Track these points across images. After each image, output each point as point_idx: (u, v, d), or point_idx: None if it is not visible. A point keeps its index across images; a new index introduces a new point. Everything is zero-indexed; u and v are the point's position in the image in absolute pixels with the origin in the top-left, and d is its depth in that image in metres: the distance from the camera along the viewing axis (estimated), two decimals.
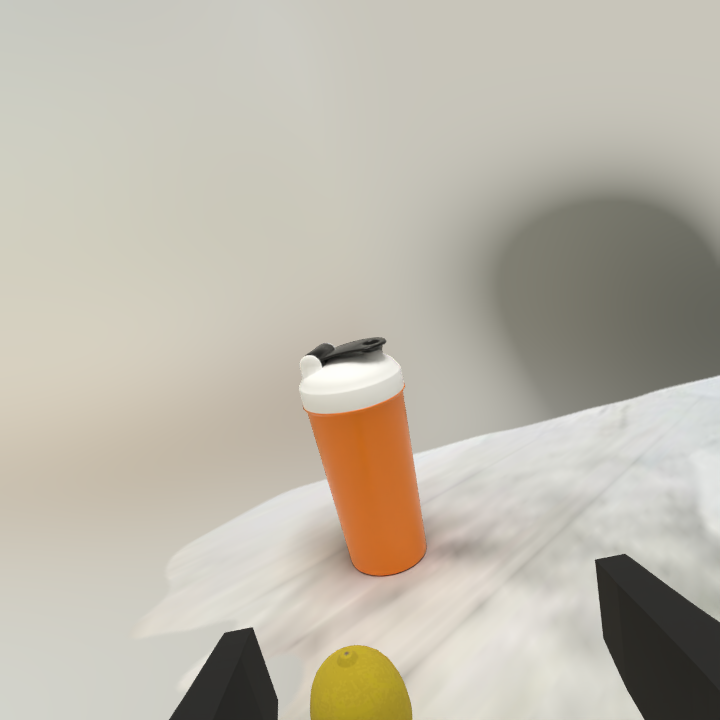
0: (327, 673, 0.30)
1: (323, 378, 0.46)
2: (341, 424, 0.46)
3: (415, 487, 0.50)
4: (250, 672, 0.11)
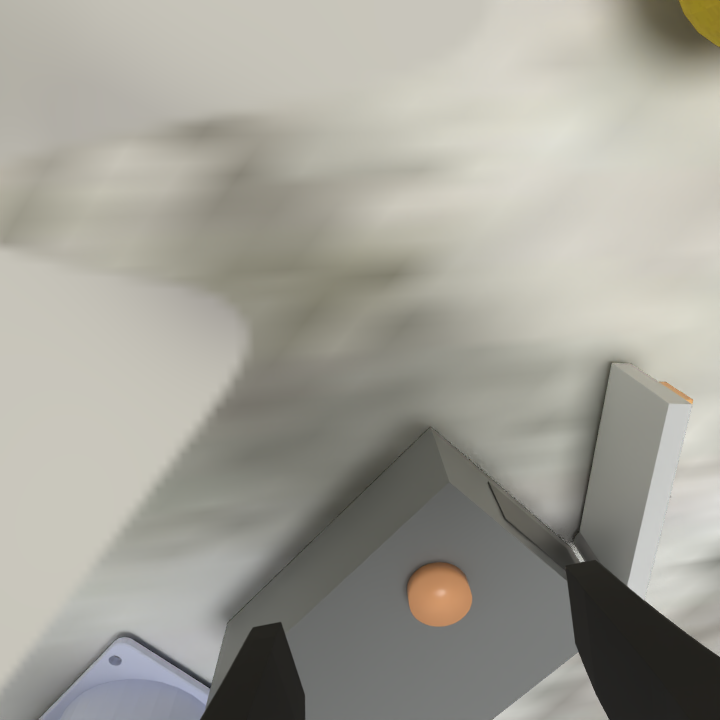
0: None
1: None
2: None
3: None
4: (281, 666, 0.11)
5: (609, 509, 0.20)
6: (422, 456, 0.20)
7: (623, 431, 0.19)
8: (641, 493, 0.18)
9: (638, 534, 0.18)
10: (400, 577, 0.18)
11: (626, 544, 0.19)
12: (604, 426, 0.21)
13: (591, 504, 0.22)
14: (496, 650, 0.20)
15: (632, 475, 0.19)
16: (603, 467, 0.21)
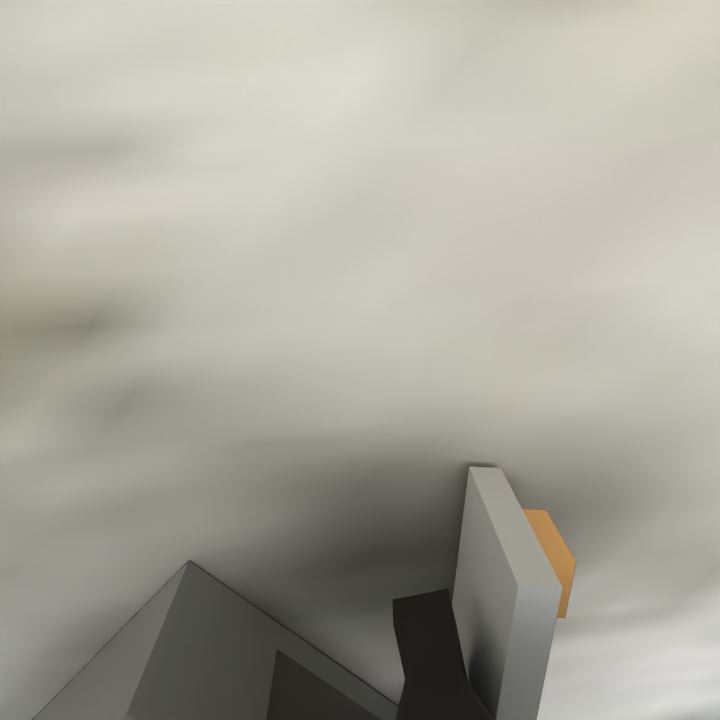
0: None
1: None
2: None
3: None
4: None
5: None
6: (152, 620, 0.12)
7: (475, 591, 0.12)
8: None
9: None
10: None
11: None
12: (460, 566, 0.13)
13: None
14: None
15: (481, 677, 0.11)
16: (458, 632, 0.13)
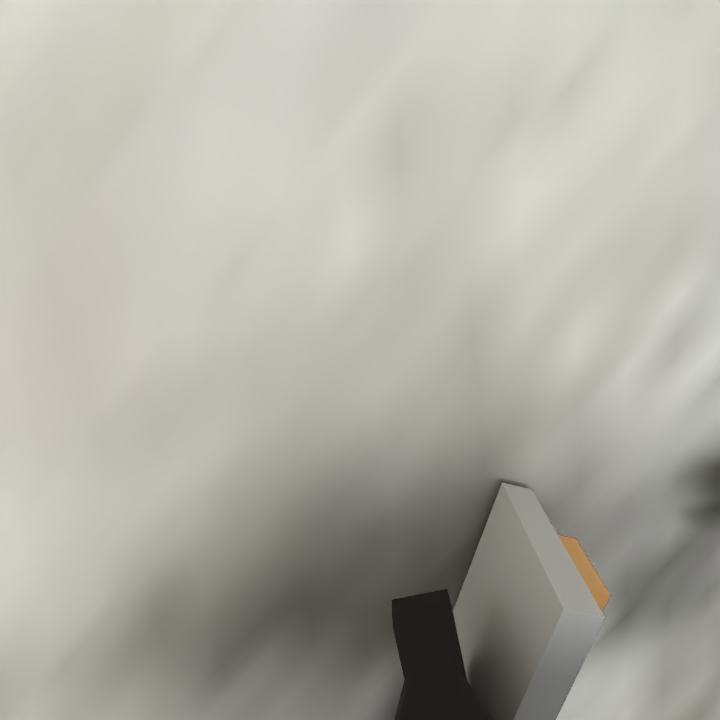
0: None
1: None
2: None
3: None
4: None
5: None
6: None
7: (492, 606, 0.12)
8: None
9: None
10: None
11: None
12: (472, 579, 0.13)
13: None
14: None
15: (487, 693, 0.11)
16: None
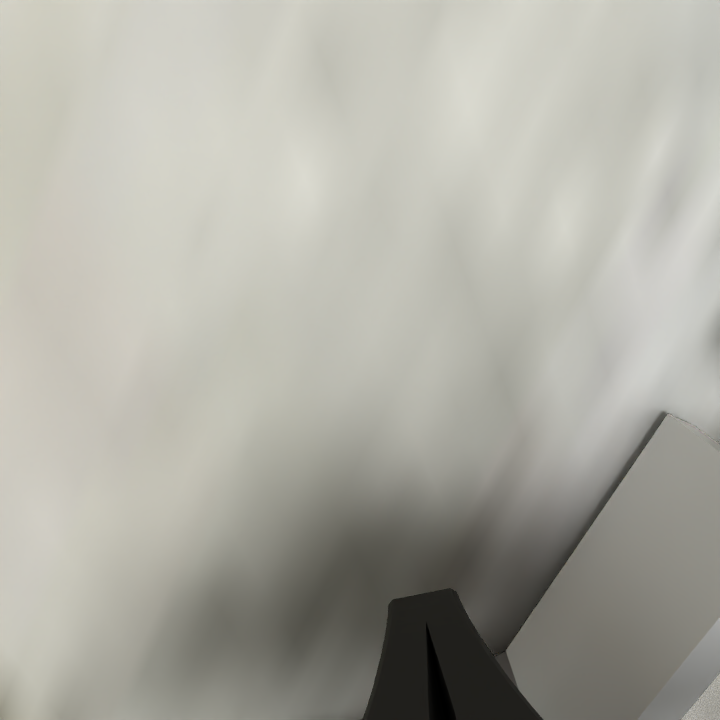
0: None
1: None
2: None
3: None
4: (430, 637, 0.11)
5: (580, 645, 0.12)
6: None
7: (658, 529, 0.11)
8: (667, 650, 0.10)
9: (635, 719, 0.10)
10: None
11: None
12: (616, 508, 0.13)
13: (544, 620, 0.13)
14: None
15: (656, 611, 0.10)
16: (590, 572, 0.12)
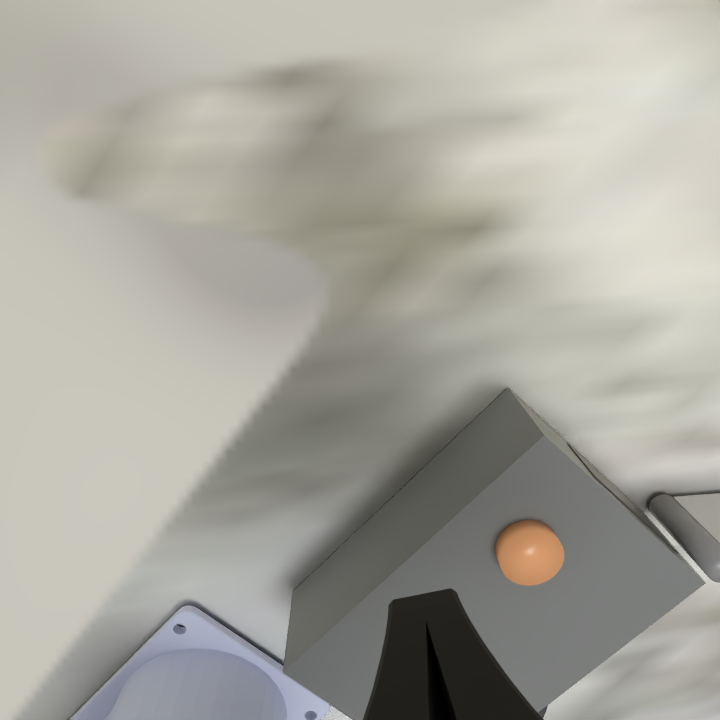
0: None
1: None
2: None
3: None
4: (430, 637, 0.11)
5: None
6: (503, 414, 0.20)
7: None
8: None
9: None
10: (489, 536, 0.18)
11: None
12: None
13: None
14: (581, 612, 0.19)
15: None
16: None
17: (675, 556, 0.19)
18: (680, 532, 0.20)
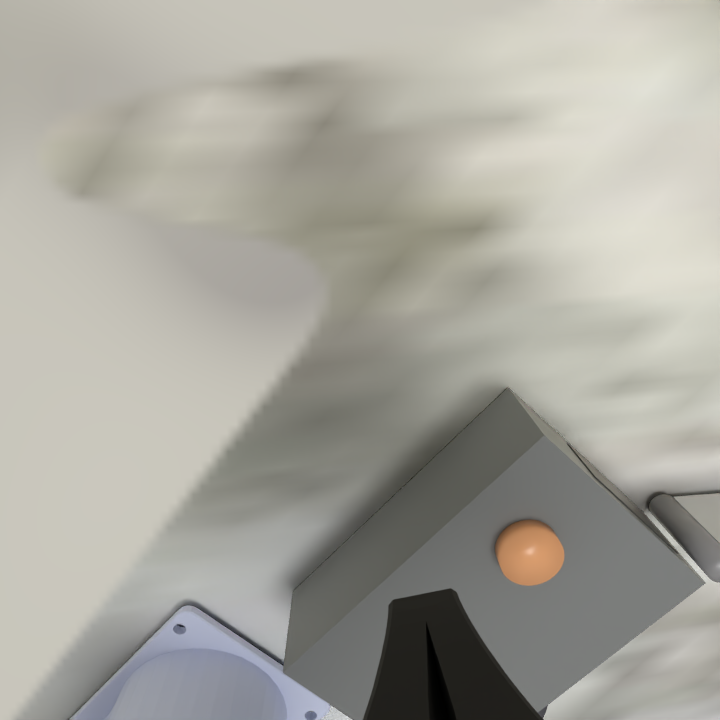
0: None
1: None
2: None
3: None
4: (430, 637, 0.11)
5: None
6: (503, 414, 0.20)
7: None
8: None
9: None
10: (489, 536, 0.18)
11: None
12: None
13: None
14: (581, 612, 0.19)
15: None
16: None
17: (675, 556, 0.19)
18: (680, 532, 0.20)
